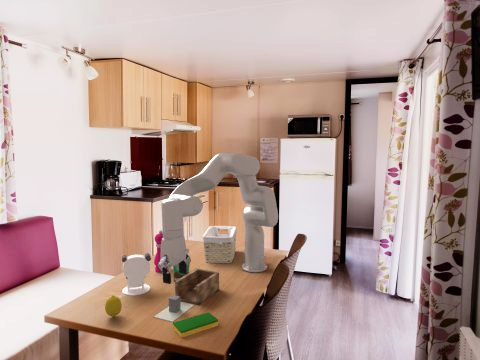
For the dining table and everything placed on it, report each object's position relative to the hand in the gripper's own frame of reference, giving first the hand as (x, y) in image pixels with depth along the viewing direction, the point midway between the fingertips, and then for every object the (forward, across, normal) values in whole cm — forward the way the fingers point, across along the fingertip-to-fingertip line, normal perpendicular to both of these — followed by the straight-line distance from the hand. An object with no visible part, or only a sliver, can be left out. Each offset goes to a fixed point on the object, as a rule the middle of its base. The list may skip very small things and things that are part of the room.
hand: (175, 278), depth 128 cm
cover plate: (+13, +1, 0) cm, 13 cm away
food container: (+13, -27, -15) cm, 34 cm away
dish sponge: (+13, +7, +13) cm, 20 cm away
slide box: (+13, -15, 0) cm, 20 cm away
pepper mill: (+13, -31, -31) cm, 46 cm away
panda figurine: (+13, -8, -26) cm, 30 cm away
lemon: (+12, +14, -17) cm, 25 cm away
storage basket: (+14, -62, -15) cm, 65 cm away
